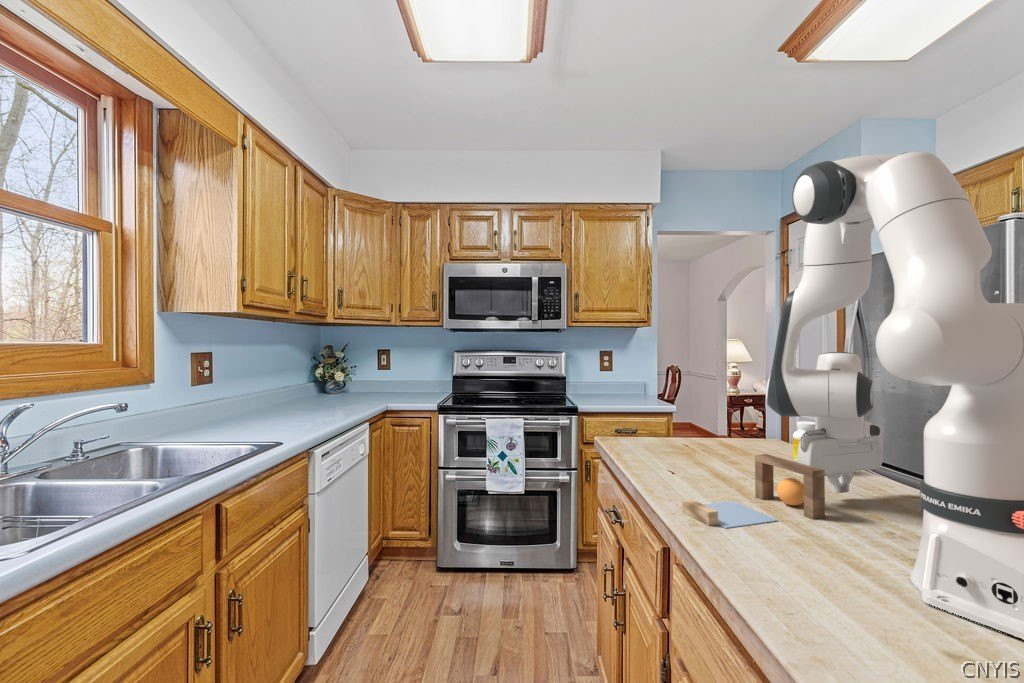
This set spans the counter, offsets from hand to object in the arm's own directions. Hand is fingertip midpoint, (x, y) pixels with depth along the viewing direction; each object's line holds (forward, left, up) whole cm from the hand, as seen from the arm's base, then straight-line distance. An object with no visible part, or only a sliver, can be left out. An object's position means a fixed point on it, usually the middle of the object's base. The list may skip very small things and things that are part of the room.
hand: (840, 492), depth 107 cm
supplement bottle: (+20, -13, -2) cm, 24 cm away
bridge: (0, +14, -2) cm, 14 cm away
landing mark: (0, +29, -2) cm, 29 cm away
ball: (0, +12, +1) cm, 12 cm away
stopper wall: (0, +36, -2) cm, 36 cm away
